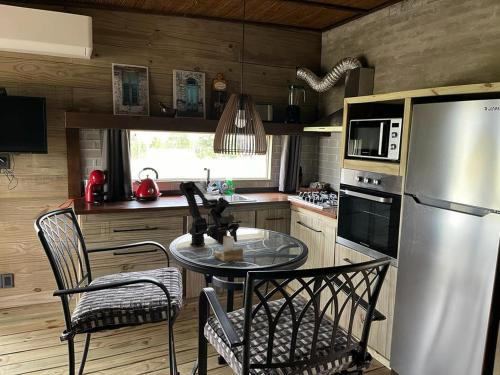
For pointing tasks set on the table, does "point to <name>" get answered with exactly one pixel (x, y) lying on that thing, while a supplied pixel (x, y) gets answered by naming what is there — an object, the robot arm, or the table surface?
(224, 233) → the coffee mug
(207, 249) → the table surface
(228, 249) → the paper roll
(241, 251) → the holder
